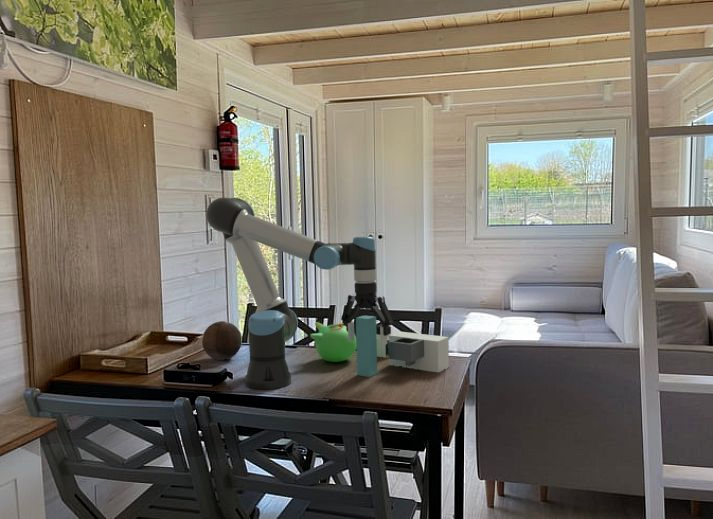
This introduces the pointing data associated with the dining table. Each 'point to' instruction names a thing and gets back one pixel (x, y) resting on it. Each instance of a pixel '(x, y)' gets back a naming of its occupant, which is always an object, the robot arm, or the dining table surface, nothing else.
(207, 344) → the wooden sphere
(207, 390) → the dining table surface
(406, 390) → the dining table surface
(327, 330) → the green round body
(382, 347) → the medicine bottle
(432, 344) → the stand
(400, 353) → the box
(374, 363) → the rail post
